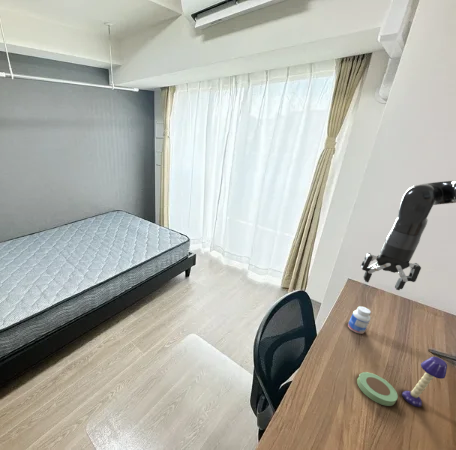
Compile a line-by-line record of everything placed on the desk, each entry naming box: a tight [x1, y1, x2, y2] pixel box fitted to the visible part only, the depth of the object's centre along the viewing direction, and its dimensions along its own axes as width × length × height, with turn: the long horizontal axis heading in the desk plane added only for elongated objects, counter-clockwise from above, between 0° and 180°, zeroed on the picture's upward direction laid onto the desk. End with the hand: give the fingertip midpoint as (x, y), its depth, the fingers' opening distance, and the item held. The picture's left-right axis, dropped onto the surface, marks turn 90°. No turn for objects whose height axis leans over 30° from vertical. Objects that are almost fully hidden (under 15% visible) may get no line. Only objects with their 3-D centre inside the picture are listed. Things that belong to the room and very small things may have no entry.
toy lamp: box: [401, 356, 448, 408], centre depth 69 cm, size 5×5×17 cm
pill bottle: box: [347, 305, 372, 334], centre depth 96 cm, size 6×5×10 cm
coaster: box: [356, 371, 399, 407], centre depth 74 cm, size 9×9×2 cm
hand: (381, 284), depth 86 cm, fingers open, 8 cm apart
